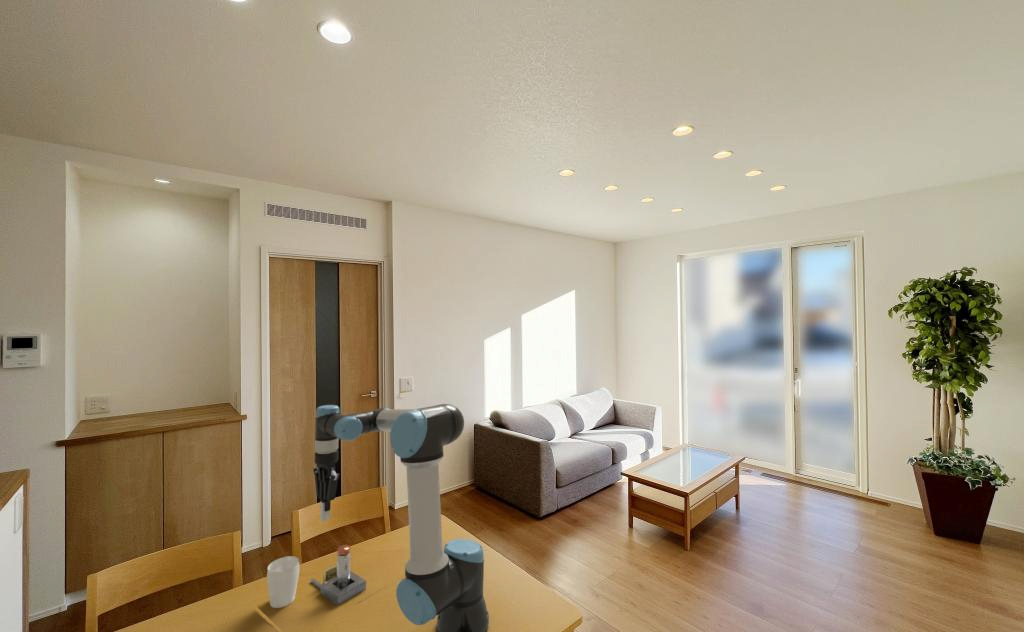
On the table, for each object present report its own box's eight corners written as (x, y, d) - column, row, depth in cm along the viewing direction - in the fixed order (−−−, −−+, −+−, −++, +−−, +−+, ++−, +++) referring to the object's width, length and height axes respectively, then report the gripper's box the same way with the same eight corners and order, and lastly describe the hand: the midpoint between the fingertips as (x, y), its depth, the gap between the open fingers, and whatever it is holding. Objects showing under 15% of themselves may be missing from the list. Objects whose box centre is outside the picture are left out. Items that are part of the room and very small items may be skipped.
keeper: (339, 579, 139) (339, 564, 139) (325, 587, 135) (325, 571, 135) (336, 578, 140) (337, 563, 140) (322, 585, 136) (323, 570, 136)
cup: (284, 614, 123) (285, 574, 123) (258, 610, 125) (259, 570, 125) (305, 595, 132) (306, 557, 132) (281, 591, 133) (282, 554, 134)
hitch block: (373, 586, 136) (373, 576, 137) (334, 609, 125) (334, 598, 125) (343, 567, 147) (343, 558, 147) (304, 587, 136) (305, 576, 136)
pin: (352, 590, 133) (352, 547, 134) (341, 596, 130) (341, 552, 130) (345, 585, 136) (345, 543, 136) (334, 592, 132) (334, 548, 133)
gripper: (347, 451, 141) (345, 520, 140) (326, 444, 148) (325, 510, 147) (326, 457, 134) (324, 529, 134) (306, 449, 142) (304, 518, 141)
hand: (325, 519), depth 141 cm, fingers closed
